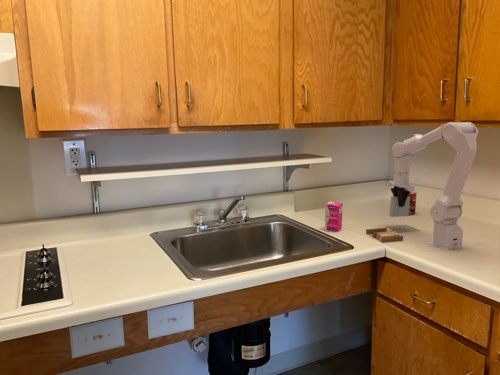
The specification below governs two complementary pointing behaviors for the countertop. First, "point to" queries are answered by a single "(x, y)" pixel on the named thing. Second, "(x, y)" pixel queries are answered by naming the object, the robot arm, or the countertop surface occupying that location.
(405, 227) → the rubber mat
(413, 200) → the canned food
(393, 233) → the upper offcut
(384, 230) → the walnut rack
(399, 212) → the grey square slab
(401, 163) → the robot arm
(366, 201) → the countertop surface
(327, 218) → the supplement box
